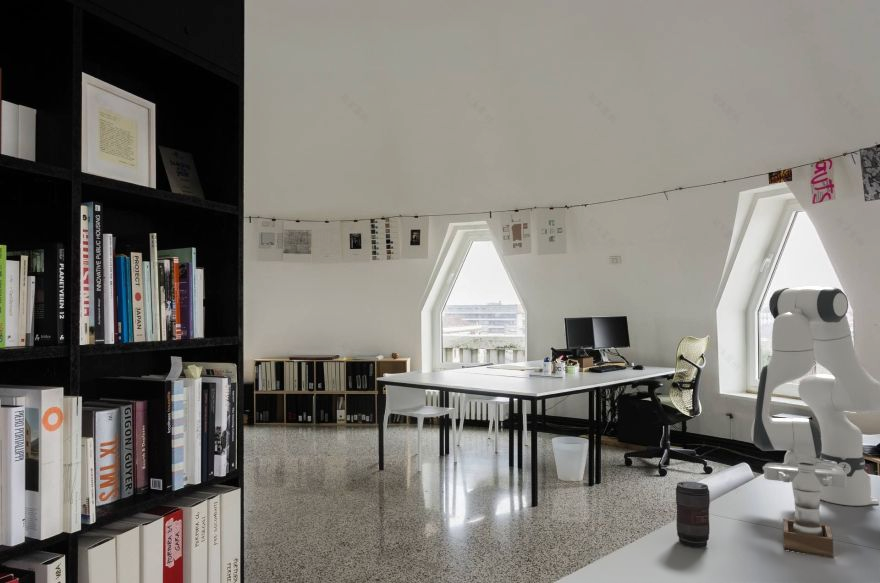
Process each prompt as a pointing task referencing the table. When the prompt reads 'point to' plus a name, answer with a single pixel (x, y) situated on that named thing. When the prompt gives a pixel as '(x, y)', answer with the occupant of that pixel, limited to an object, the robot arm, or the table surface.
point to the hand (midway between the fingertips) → (806, 481)
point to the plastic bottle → (807, 501)
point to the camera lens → (693, 514)
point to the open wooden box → (808, 541)
